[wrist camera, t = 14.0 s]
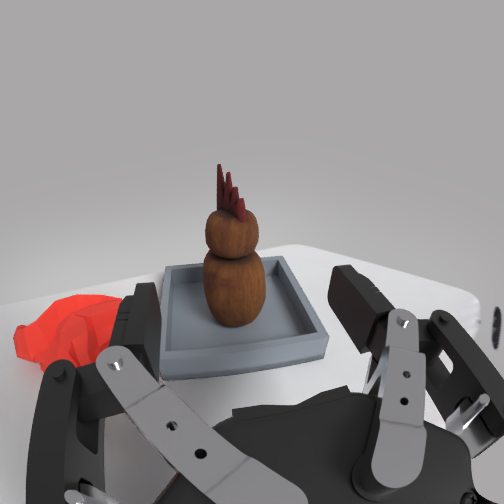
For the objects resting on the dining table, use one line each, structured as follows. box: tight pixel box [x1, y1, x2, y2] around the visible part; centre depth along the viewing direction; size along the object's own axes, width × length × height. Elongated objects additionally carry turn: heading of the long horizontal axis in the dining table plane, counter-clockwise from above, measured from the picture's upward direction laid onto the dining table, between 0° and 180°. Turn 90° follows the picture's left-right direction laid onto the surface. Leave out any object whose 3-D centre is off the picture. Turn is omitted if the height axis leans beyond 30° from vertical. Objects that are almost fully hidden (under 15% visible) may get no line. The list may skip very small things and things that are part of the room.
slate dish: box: [159, 256, 329, 380], centre depth 28 cm, size 15×15×3 cm
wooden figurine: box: [203, 164, 266, 328], centre depth 25 cm, size 7×6×15 cm
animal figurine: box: [13, 294, 122, 372], centre depth 21 cm, size 12×15×5 cm
